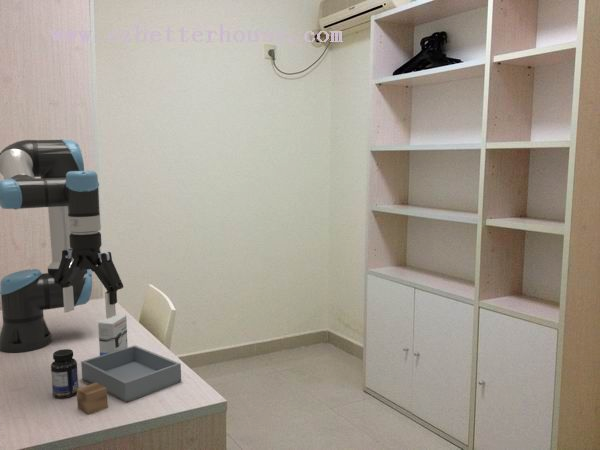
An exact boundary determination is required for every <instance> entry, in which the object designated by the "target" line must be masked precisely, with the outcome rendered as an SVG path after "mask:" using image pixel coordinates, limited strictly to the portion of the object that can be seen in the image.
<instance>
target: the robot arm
mask: <svg viewBox="0 0 600 450" xmlns="http://www.w3.org/2000/svg"><path fill="white" fill-rule="evenodd" d="M0 174H1V175H2V176H3V179H0V208H2V209H5V210H7V209H8V210H12V209H13V210H21V209H22V210H23V209H38V208H47V209H48V221H49V236H50V237H49V238H50V249H51V250H50V251H51V263H50V264H49V265H48V266H47V273H42V271H41V270H40V269H37V268H33V269H30V268H29V269H24V270H19V271H15V272H12V273H9V274H7V275H4V277H2V278H1V280H0V295H1V296H0V297H1V298H0V299H1V311H2V315H1V316H2V326H1V330H0V351H2V352H6V353H22V352H23V353H24V352H28V351H33V350H37V349H41V348H44V347H46V346H48V345H50V344H51V342H52V334H51V331H50V329H49V326H48V325H47V322H46V320H45V318H44V317H45V315H44V311H47V310H54V309H60V308H63V310H64V311H63V312H64V313H66V314H67V313H69V312H72V311H75V307H76V306H81V305H82V306H83V305H85V304H87V303H88V302H89V301H90V299H91V296H92V289H93V277H92V275H93V273H94V274H95V275H96V276H97V278H98V279H99V281H100V282H101V284H102V286H104V288H105V289H106V291H105V292H104V300H105V301H104V302H105V318H110V317H113V316H115V315H117V313H116V312H117V311H116V309H117V308H116V304H117V303H118V293H117V292H118V291H119V290H121V289H124V285H123V282H122V280H121V278H120V275H119V273H118V271H117V268H116V266H115V264H114V262H113V258H112V252H111V251H105V252H101V246H102V244H103V243H102V234H101V232H100V230H101V228H102V225H101V215H100V194H99V188H100V183H99V178H98V174H97V172H96V171H94V170H85V163H84V157H83V153H82V150H81V148H80V145H79V144H78V142H76V141H75V140H72V139H71V140H69V139H68V140H67V139H24V140H19V141H16V142H13V143H11V144H9V145H7V146H6V147H4V148H3V149H2V150H1V151H0ZM92 272H93V273H92Z"/></svg>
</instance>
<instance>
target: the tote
mask: <svg viewBox="0 0 600 450" xmlns="http://www.w3.org/2000/svg"><path fill="white" fill-rule="evenodd" d="M181 365H182V364H181V362H180V363H179V362H177V361H175V360H173V359H171V358H168V357H165V356H162V355H160V354H158V353H155V352H153V351H150V350H148V349H146V348H143V347H141V346H138V345H135V344H134V345H132V346H128V348H125V349H121V350H118V351H115V352H111V353H108V354H105V355H101V356H100V355H98V356H95V357H93V358H89V359H86V360H81V379H82V380H83V381H85V382H87V383H89V385H90V384H93V383H98V384H100V385H102V386H104V387H106V388H107V394H108V395H111V396H113V397H114V398H116V399H118V400H121V401H123V402H124V403H125V404H126V403H129V402H133V401H134V400H137V399H139V398H142V397H145V396H147V395H150V394H152V393H153V394H154V393H155V392H158V391H160V390H163V389H166V388H168V387H171V386H173V385H176V384H179V383H181V382H182V366H181Z"/></svg>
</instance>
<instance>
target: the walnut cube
mask: <svg viewBox="0 0 600 450" xmlns="http://www.w3.org/2000/svg"><path fill="white" fill-rule="evenodd" d="M76 397H77V398H76V399H77V401H76V402H77V409H78V410H80V411H82V412H83V413H85V414H86V415H91V414H94V413H96V412H97V413H98V412H99V411H102V410H105V409H107V408H108V407H109V404H108V393H107V388H106V387H104V386H102V385H100V384H98V383H93V384H90V383H89V384H88V385H85V386H84V385H83V386H81V387H78V389H77V393H76Z"/></svg>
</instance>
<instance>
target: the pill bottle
mask: <svg viewBox="0 0 600 450" xmlns="http://www.w3.org/2000/svg"><path fill="white" fill-rule="evenodd" d="M73 357H74V351H73V350H72V349H70V348H66V349H64V348H63V349H60V350H59V349H58V350H56V351H54V352H53V353H52V359H53V360H54V361H53V362H52V363H51V364H50V372H51V374H50V375H51V385H52V395H53V397H54V398H56V399H66V398H69V397H70V398H71V397H73V396H75V395H77V389H78V388H79V379H78V378H79V375H78V374H79V373H78V363H77V360H76V359H75V358H73Z"/></svg>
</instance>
